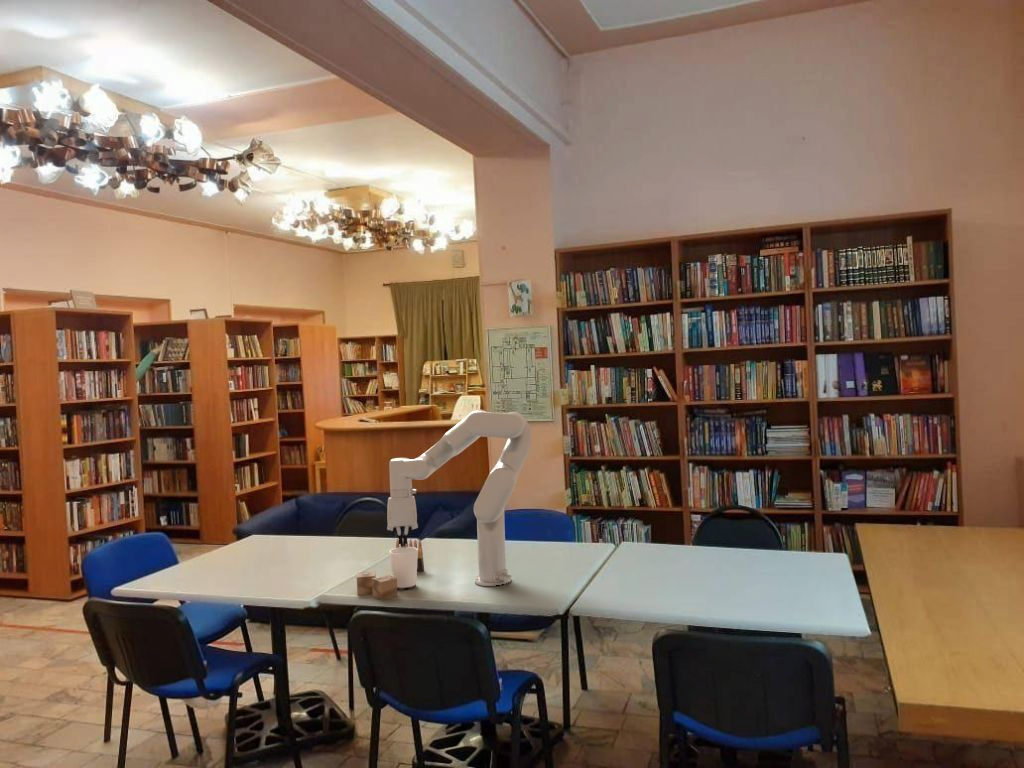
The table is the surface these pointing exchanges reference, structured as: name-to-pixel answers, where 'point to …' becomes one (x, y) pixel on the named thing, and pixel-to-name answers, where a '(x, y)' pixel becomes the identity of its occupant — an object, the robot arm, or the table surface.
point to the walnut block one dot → (365, 582)
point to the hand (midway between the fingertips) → (403, 545)
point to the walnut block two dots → (384, 587)
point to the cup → (404, 566)
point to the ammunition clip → (420, 554)
